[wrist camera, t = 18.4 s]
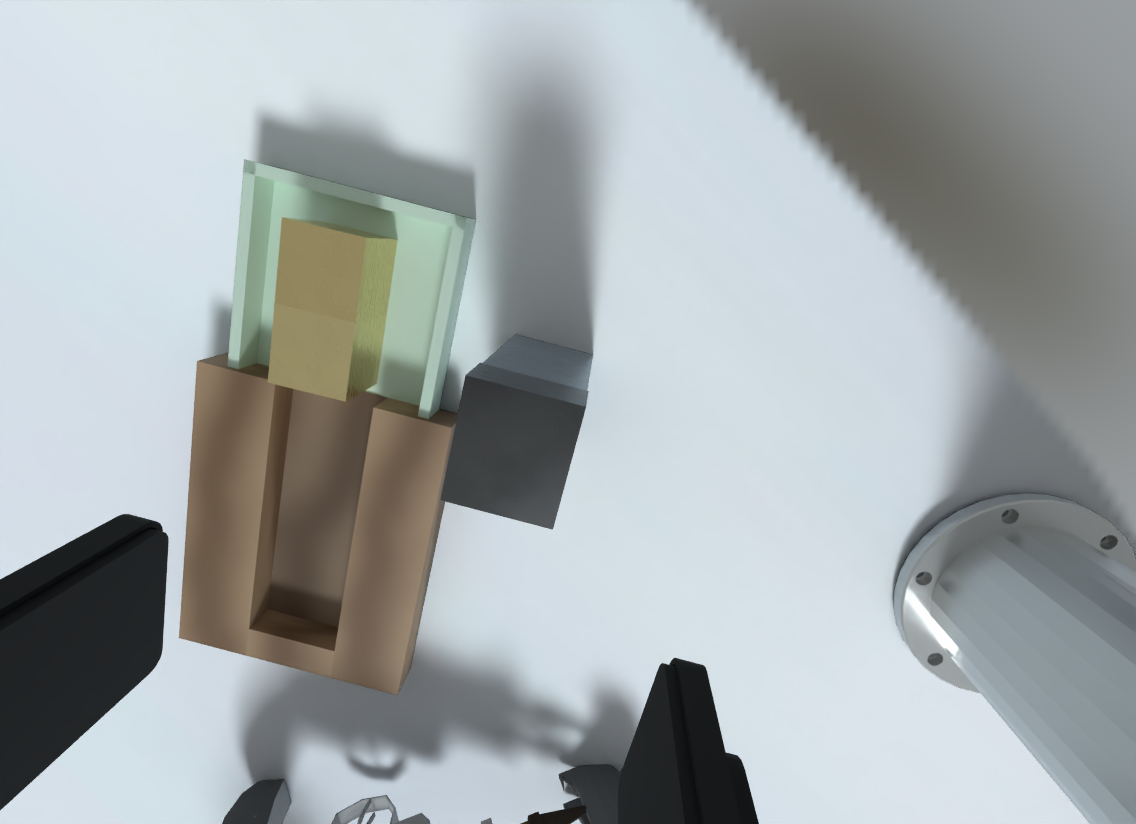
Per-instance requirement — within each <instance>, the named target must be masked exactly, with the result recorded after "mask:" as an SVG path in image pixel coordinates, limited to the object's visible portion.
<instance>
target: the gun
mask: <svg viewBox="0 0 1136 824" xmlns="http://www.w3.org/2000/svg"><path fill="white" fill-rule="evenodd" d="M620 776H621V772H620V771H618V770H617V769H615V768H614V767H612V766H610V765H607V764H601V765H583V766H579V767H576V768H572V769H570V770H568V771H565V772H563V773H560V774H559V779H560V781H561V784H562V787H563V790H564V782H563V781H565V782H566V783H568V784H569V785H571V786H572V787H573V788H574V789H575V791H576V792H577V793H578V795H579V797H580V798H577V799H574V800H572V801H569V802H567V803H565V804H563V805H564V809H563V810H558V811H553V812H549V813H544V814H539V812H536V813H534V814H531V815H529V816H528V821H526V822H524V823H521V824H571V823H572V822H574V821H575V820H577V819H579V820H580V822H581V823H582V824H618V787H619V780H620ZM290 804H291V799H290V796H289V793H288V790H287V787H286V783H285V780H284V779H278V780H263V781H260V782H257V783H256V784H254V785H253V786H252V787H250V788H249V789H247V790H246V791H245V792H243V793H242V794H241V796H240V797H239V798H238V800H237V801H236V803H235V804H234V805H233V807H232V808H231V809H230V811H229V812H228V814H227V815H226V816H225V818H224V820H223V823H222V824H282V823H283V821H284V818H285V816H286V814H287V811H288V809H289V807H290ZM385 809H389V810H390V811H391V813H392V818H391V822H390V824H430V820H429V819H428V818H427V817H425V816H424V815H423V814H422V813H420V814H417V815H415V816H412V817H409V818H407V819H404V820H402V821H399V820H398V816H397V812H396V808H395V807H394V805H393V804H392V802H391V801H390V799H389V798H388V796H387V795H384V796H378V797H372V798H367V799H362V800H360V801H358V802H356V803H354V804H353V805H351V806H349V807H347V808H345V809H344V810H342V811H340V812H338V813H336V815H335V817H334V820H333V822H332V824H347V823H349V822H351V821H352V820H354V819H356V818H358V817H359V816H360V817H359V820H358V823H357V824H361V823H362V820H363V817H364V815H365V813H369V812H374V811H380V810H385ZM374 817H375V812H374V813H373V814H372V816H371V817H370V819H369V820H368V822H367V824H371V823H372V821H373V819H374ZM481 824H492V820H491V818H489V819H486V820H484V821H481Z"/></svg>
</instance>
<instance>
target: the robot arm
mask: <svg viewBox="0 0 1136 824" xmlns="http://www.w3.org/2000/svg"><path fill="white" fill-rule="evenodd" d="M167 558H168V536H167V534H166V533H164V532H163V529H162V526H161V524H160V523H158V522H156V521H152V520H149V519H145V518H141V517H137V516H133V515H129V514H123V515H120V516H117V517H116V518H114V519H112V520H110V521H108V522H106V523H104V524H103V525H101V526H99V527H97V528H95V529H93V530H91V531H90V532H88V533H86V534H84V535H82V536H80V537H78V538H77V539H75V540H73V541H71V542H69V543H67V544H65V545H63V546H62V547H60V548H58V549H56V550H54V551H52V552H50V553H49V554H47V555H45V556H43V557H41V558H39V559H37V560H36V561H34V562H32V563H30V564H28V565H26V566H24V567H23V568H21V569H19V570H17V571H15V572H13V573H11V574H10V575H8V576H6V577H4V578H2V579H0V810H1V809H2V808H3V807H4V806H6V805H7V804H8V803H9V802H10V801H11V800H12V799H13V798H14V797H15V796H16V795H18V794H19V793H20V792H21V791H22V790H23V789H24V788H25V787H26V786H27V785H28V784H30V783H31V782H32V781H33V780H34V779H35V778H36V777H37V776H38V775H39V774H40V773H42V772H43V771H44V770H45V769H46V768H47V767H48V766H49V765H50V764H51V763H52V762H54V761H55V760H56V759H57V758H58V757H59V756H60V755H61V754H62V753H63V752H64V751H66V750H67V749H68V748H69V747H70V746H71V745H72V744H73V743H74V742H75V741H76V740H78V739H79V738H80V737H81V736H82V735H83V734H84V733H85V732H86V731H87V730H88V729H90V728H91V727H92V726H93V725H94V724H95V723H96V722H97V721H98V720H99V719H101V718H102V717H103V716H104V715H105V714H106V713H107V712H108V711H109V710H110V709H111V708H113V707H114V706H115V705H116V704H117V703H118V702H119V701H120V700H121V699H122V698H123V697H125V696H126V695H127V694H128V693H129V692H130V691H131V690H132V689H133V688H134V687H135V686H137V685H138V684H139V683H140V682H141V681H142V680H143V679H144V678H145V677H146V676H147V675H149V674H150V673H151V671H152V670H153V669H154V668H155V666H156V665H157V663H158V661H159V660H160V657H161V654H162V647H163V629H164V612H165V594H166V576H167ZM894 613H895V619H896V625H897V627H898V629H899V632H900V634H901V637H902V639H903V641H904V642H905V643H906V645H907V646H908V648H909V649H910V651H911V652H912V653H913V655H914V656H915V657H916V659H917V660H918V661H919V662H920V663H921V664H922V666H923V667H924V668H926V669H927V670H928V671H930V672H931V673H932V674H934V675H935V676H936V677H938V678H939V679H941V680H943V681H945V682H947V683H949V684H951V685H953V686H956V687H958V688H961V689H965V690H969V691H972V692H976V693H981V694H982V695H983V697H984V698H985V699H986V700H987V701H988V703H989V704H990V705H991V706H992V707H993V709H994V710H995V711H996V712H997V713H998V714H999V716H1000V717H1001V718H1002V719H1003V720H1004V722H1005V723H1006V724H1007V725H1008V726H1009V728H1010V729H1011V730H1012V731H1013V732H1014V734H1015V735H1016V736H1017V737H1018V738H1019V740H1020V741H1021V742H1022V743H1023V744H1024V746H1025V747H1026V748H1027V749H1028V750H1029V752H1030V753H1031V754H1032V755H1033V756H1034V758H1035V759H1036V760H1037V761H1038V762H1039V764H1040V765H1041V766H1042V767H1043V768H1044V769H1045V771H1046V772H1047V773H1048V774H1049V775H1050V777H1051V778H1052V779H1053V780H1054V781H1055V783H1056V784H1057V785H1058V786H1059V787H1060V789H1061V790H1062V791H1063V792H1064V793H1065V795H1066V796H1067V797H1068V798H1069V799H1070V801H1071V802H1072V803H1073V804H1074V805H1075V807H1076V808H1077V809H1078V810H1079V811H1080V813H1081V814H1082V815H1083V816H1084V817H1085V818H1086V820H1087V821H1088V822H1089V823H1090V824H1136V558H1135V554H1134V552H1133V550H1132V548H1131V547H1130V545H1129V543H1128V542H1127V540H1126V538H1125V537H1124V535H1123V534H1122V533H1121V532H1120V531H1119V530H1118V529H1117V528H1116V527H1115V526H1114V525H1113V524H1112V523H1111V522H1109V521H1108V520H1106V519H1104V518H1103V517H1101V516H1100V515H1098V514H1096V513H1095V512H1093V511H1091V510H1089V509H1087V508H1085V507H1083V506H1081V505H1079V504H1077V503H1075V502H1073V501H1071V500H1067V499H1063V498H1059V497H1055V496H1052V495H1043V494H1030V493H1024V494H1013V495H1003V496H999V497H995V498H991V499H987V500H983V501H980V502H977V503H975V504H973V505H970V506H968V507H966V508H963V509H961V510H959V511H957V512H956V513H954V514H952V515H951V516H949V517H948V518H946V519H944V520H943V521H941V522H940V523H938V524H937V525H936V526H935V527H934V528H933V529H932V530H930V531H929V532H928V533H927V534H926V535H925V536H924V537H923V538H922V539H921V540H920V541H919V542H918V544H917V545H916V546H915V547H914V549H913V550H912V551H911V552H910V554H909V556H908V557H907V559H906V561H905V563H904V565H903V567H902V569H901V570H900V573H899V577H898V580H897V583H896V587H895V593H894ZM618 824H759V823H758V819H757V815H756V811H755V807H754V803H753V800H752V796H751V792H750V788H749V784H748V780H747V776H746V773H745V769H744V766H743V763H742V761H741V759H740V758H739V757H738V756H737V755H733V754H730V753H726V752H725V748H724V744H723V740H722V735H721V731H720V727H719V722H718V718H717V714H716V709H715V705H714V700H713V696H712V692H711V687H710V683H709V679H708V674H707V670H706V668H705V666H703V665H700V664H697V663H693V662H689V661H685V660H681V659H677V658H673V660H672V661H671V663H670V665H667V664H664V663H662V664H661V665H660V666H659V669H658V671H657V674H656V677H655V680H654V683H653V685H652V688H651V691H650V694H649V696H648V699H647V702H646V705H645V708H644V710H643V713H642V716H641V719H640V722H639V724H638V727H637V730H636V733H635V735H634V738H633V741H632V744H631V747H630V749H629V752H628V755H627V758H626V761H625V763H624V766H623V769H622V772H621V776H620V780H619V787H618Z"/></svg>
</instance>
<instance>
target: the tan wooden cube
mask: <svg viewBox="0 0 1136 824" xmlns="http://www.w3.org/2000/svg"><path fill="white" fill-rule="evenodd" d="M397 241H398V240H397V239H393V238H389V237H385V236H381V235H377V234H373V233H369V232H365V231H361V230H356V229H352V228H348V227H344V226H340V225H336V224H332V223H328V222H324V221H314V220H304V219H295V218H285V217H282V221H281V232H280V244H279V256H278V267H277V279H276V291H275V303H276V304H280V305H284V306H288V307H292V308H296V309H300V310H304V311H308V312H312V313H316V314H320V315H324V316H329V317H333V318H337V319H341V320H345V321H349V322H353V323H358V322H361V321H365V320H369V319H372V318H376V317H379V316H383V315H386V314H387V311H388V304H389V297H390V290H391V283H392V276H393V269H394V262H395V255H396V248H397Z"/></svg>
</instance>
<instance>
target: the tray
mask: <svg viewBox="0 0 1136 824" xmlns="http://www.w3.org/2000/svg"><path fill="white" fill-rule="evenodd" d="M282 217H285V218H295V219H304V220H314V221H324V222H328V223H332V224H336V225H340V226H344V227H348V228H352V229H356V230H361V231H365V232H369V233H373V234H377V235H381V236H385V237H389V238H393V239H397V240H398V241H397V248H396V255H395V262H394V269H393V276H392V283H391V290H390V297H389V304H388V311H387V318H386V325H385V332H384V339H383V346H382V353H381V360H380V367H379V374H378V381H377V384H376V385H374V386H372V387H371V388H369V389H367V390H365V392H368V393H372V394H376V395H380V396H384V397H387V398H391V399H395V400H399V401H403V402H407V403H410V404H414V405H418V406H420V407H419V412H418V417H422V418H426V419H429V418H430V417H431V416H432V415H434V414H435V413H436V412H437V411H438V410H439V408H440V402H441V397H442V392H443V387H444V382H445V377H446V372H447V366H448V361H449V356H450V351H451V346H452V341H453V336H454V330H455V325H456V320H457V315H458V310H459V305H460V300H461V294H462V289H463V284H464V279H465V274H466V269H467V263H468V258H469V253H470V248H471V243H472V238H473V233H474V227H475V222H476V220H474V219H471V218H467V217H463V216H459V215H455V214H452V213H448V212H444V211H440V210H436V209H433V208H429V207H425V206H421V205H417V204H413V203H410V202H406V201H402V200H398V199H394V198H391V197H387V196H383V195H379V194H375V193H372V192H368V191H364V190H360V189H356V188H353V187H349V186H345V185H341V184H337V183H334V182H330V181H326V180H322V179H318V178H314V177H311V176H307V175H303V174H299V173H295V172H292V171H288V170H284V169H280V168H276V167H273V166H269V165H265V164H261V163H257V162H253V161H249V160H245V159H244V168H243V181H242V193H241V205H240V218H239V230H238V242H237V255H236V267H235V279H234V292H233V304H232V316H231V329H230V341H229V353H228V367H232V368H236V369H240V368H244V367H247V366H250V365H253V364H256V363H258V364H262V365H266V366H269V361H270V349H271V338H272V326H273V314H274V303H275V291H276V279H277V267H278V256H279V244H280V232H281V221H282Z"/></svg>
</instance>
